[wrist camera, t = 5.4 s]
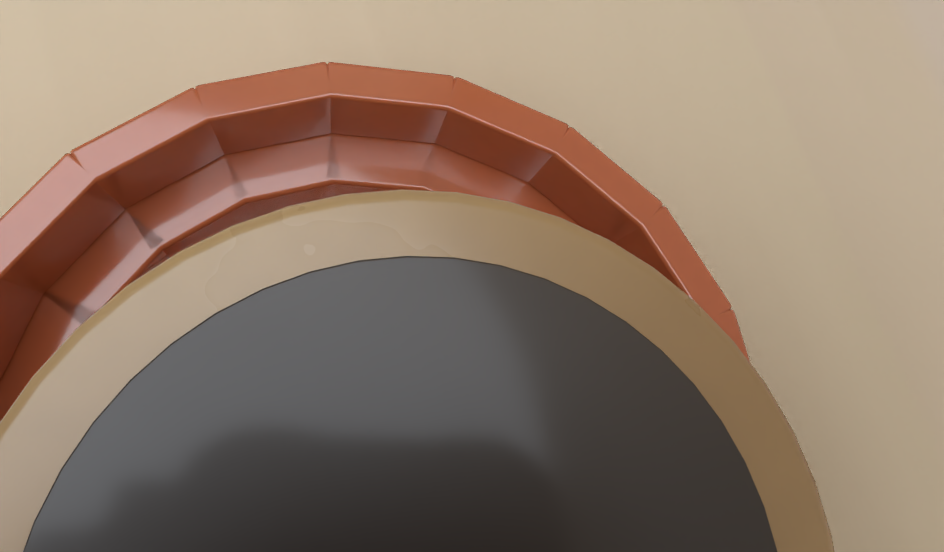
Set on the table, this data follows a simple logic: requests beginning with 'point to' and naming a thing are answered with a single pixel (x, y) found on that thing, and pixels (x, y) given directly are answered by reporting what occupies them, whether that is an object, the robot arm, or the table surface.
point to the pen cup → (403, 399)
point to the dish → (299, 186)
